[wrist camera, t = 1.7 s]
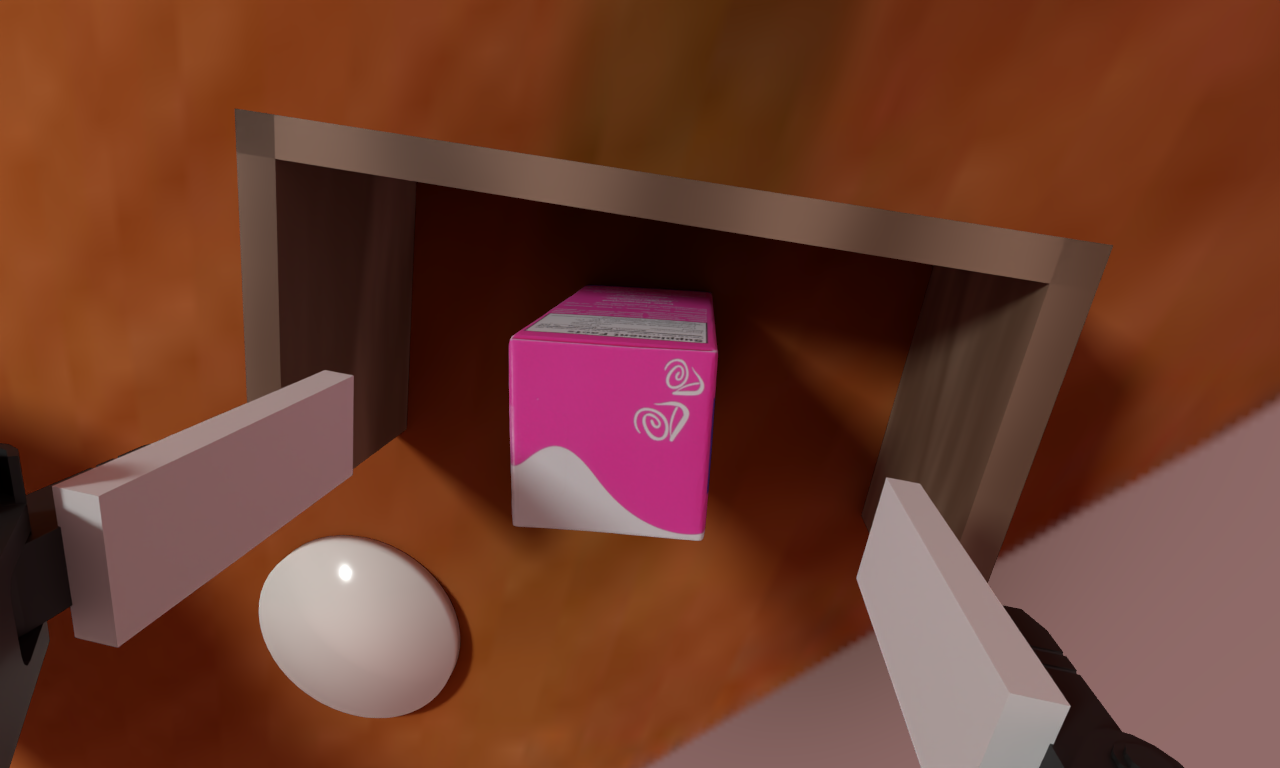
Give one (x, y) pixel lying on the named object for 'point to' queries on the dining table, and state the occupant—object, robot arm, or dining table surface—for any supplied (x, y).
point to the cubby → (392, 164)
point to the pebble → (360, 626)
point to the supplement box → (615, 413)
